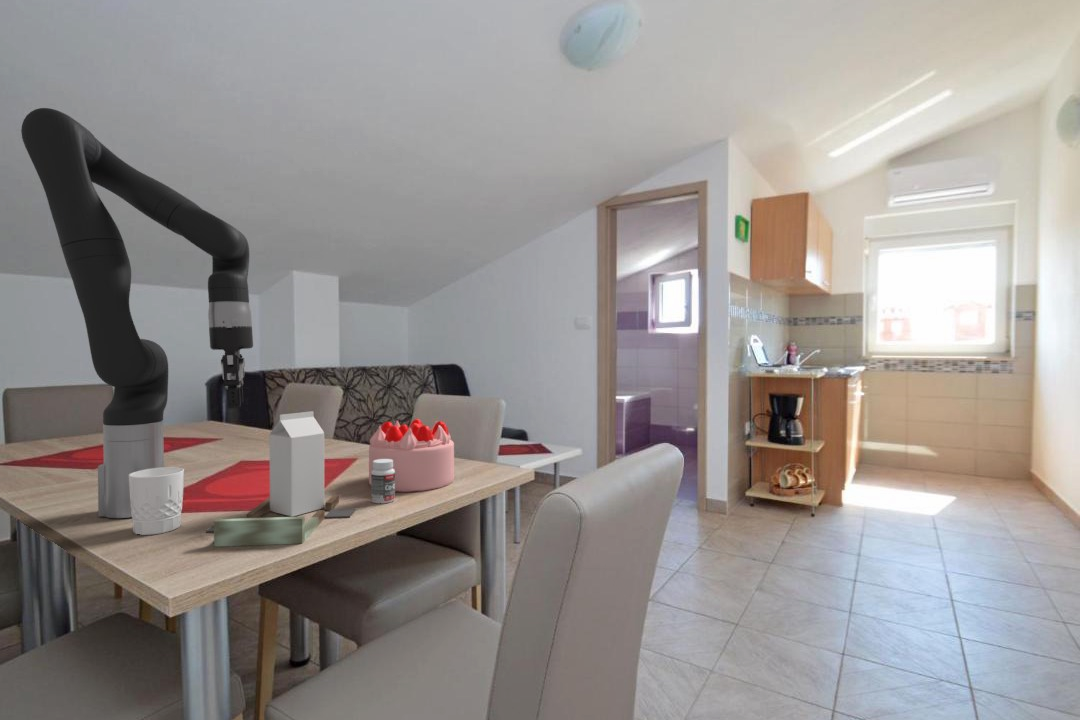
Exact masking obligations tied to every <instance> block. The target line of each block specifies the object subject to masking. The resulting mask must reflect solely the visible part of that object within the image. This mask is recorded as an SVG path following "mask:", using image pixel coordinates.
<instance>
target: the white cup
mask: <svg viewBox="0 0 1080 720" xmlns="http://www.w3.org/2000/svg"><path fill="white" fill-rule="evenodd" d="M184 478H185V469H184V468H182V467H177V466H165V467H162V468H152V469H145V470H140V471H136V472H133V473H130V474H129V490H130V505H131V515H132V517H131V519H132V533H134V534H135V535H137V534H140V535H139V536H151V535H153V536H154V535H158V534H165V533H168V532H171V531H174V530H176V529H178V528H180V526H181V524H182V511H183V500H184V499H183V498H184Z"/></svg>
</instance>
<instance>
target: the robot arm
mask: <svg viewBox="0 0 1080 720" xmlns="http://www.w3.org/2000/svg"><path fill="white" fill-rule="evenodd" d="M20 132H21V139H22V142H23V145H24V147H25V150H26V151H27V154H28V155H29V158H30V160H31V162H32V164H33V167H34V169H35V171H36V173H37V175H38V179H39V180H40V182H41V185H42V188H43V190H44V193H45V197H46V199H47V203H48V207H49V211H50V214H51V216H52V221H53V223H54V226H55V228H56V229H55V230H56V232H57V236H58V239H59V243H60V248H61V250H62V251H61V252H62V254H63V257H64V260H65V261H64V262H65V264H66V266H67V270H68V272H69V274H70V277H71V281H72V283H73V287H74V289H75V294H76V297H77V299H78V303H79V306H80V308H81V312H82V314H83V318H84V322H85V328H86V334H87V339H88V345H89V350H90V354H91V355H90V356H91V360H92V361H91V362H92V365H93V368H94V370H95V372H96V375H97V376H98V377H99V379H100V380H101V381H103V382H104V383H105V384H107V385H108V386H111V387H113V388H114V389H113V396H112V399H111V401H110V402H109V404H108V405H107V406H106V407H104V408H105V409H104V410H103V412H102V432H103V433H102V437H103V439H102V440H103V447H102V448H103V463H102V464H98V466H97V496H98V497H97V499H98V501H97V502H98V503H97V505H98V506H97V508H98V511H97V513H98V515H97V516H98V517H105V518H108V519H127V518H128V519H129V518H132V515H131V505H130V490H129V474H130V473H133V472H136V471H140V470H145V469H152V468H162V467H164V466H165V465H164V462H165V461H164V457H165V456H164V453H165V451H164V450H165V449H164V447H165V445H164V411H165V409H166V407H167V404H168V396H169V395H168V392H169V390H168V389H169V361H168V357H167V356H168V355H167V354H166V351H165V350H164V348H162V346H161V345H159V344H158V343H157V342H155V341H153V340H149V339H147V338H146V339H145V338H140V336H139V334H138V331H137V328H136V326H135V325H136V324H134V323H135V322H134V321H133V317H132V313H131V310H130V309H131V308H130V295H131V284H132V266H131V261H130V258H129V255H128V251H127V249H126V246H125V243H124V239H123V237H122V234H121V232H120V229H119V228H118V225H117V224H116V222H115V221H114V219H113V217H112V215H111V214H110V212H109V210H108V209H107V207H106V206H105V204H104V203H103V201H102V199H101V198H100V196H99V195H98V192H97V190H96V188H95V187H94V184H96V185H98V186H100V187H101V188H104V189H106V190H107V191H109V192H111V193H112V194H115V195H116V196H118V197H119V198H121V199H122V200H123V201H125V202H127V203H128V204H129V205H131V206H132V207H133V208H135V209H137V211H139V212H140V213H142V214H144V215H145V216H147V217H148V218H150V219H151V220H152V221H154V222H156V223H158V224H159V225H161V226H162V227H164V228H166V229H167V230H169V231H171V232H173V233H174V234H176V235H178V236H181V237H183V238H184V239H185V240H187V241H188V242H190V243H191V244H193V245H194V246H196V247H197V248H198V249H200V250H202V251H203V252H205V253H206V254H208V255H209V256H211V259H212V273H211V274H210V275H209V277H208V279H207V294H208V295H207V296H208V312H207V313H208V314H207V317H208V332H209V347H210V349H211V350H213V351H221V350H222V351H224V354H222V357H221V358H220V367H221V369H222V370H221V376H222V380H223V385H224V389H225V390H226V401H227V403H226V404H227V408H228V409H230V410H231V409H238V408H240V407H241V405H242V404H243V402H244V393H243V392H244V391H243V385H244V380H245V365H246V363H245V362H246V361H245V357H243V355H242V353H240V352H241V350H245V349H247V350H249V349H252V348H253V347H254V340H253V338H254V337H253V320H252V310H251V307H250V298H249V297H250V295H249V294H250V293H249V284H248V276H249V267H250V246H249V242H248V240H247V238H246V236H245V235H244V234H243V233H242V232H241V231H239V229H237V228H236V227H234V226H232V225H231V224H229V223H228V222H226V221H224V220H223V219H221V218H219V217H217V216H216V215H214V214H212V213H210V212H208V211H207V210H204V209H203V208H202V207H200V206H199V205H198V204H196V203H195V202H194V201H192V200H191V199H189V198H187V197H186V196H184V195H183V194H181V193H179V192H178V191H176V190H175V189H173V188H171V187H170V186H167V185H166V184H164V183H163V182H161V181H159V180H157V179H155V178H153V177H151V176H149V175H147V174H145V173H143V172H141V171H139V170H137V169H136V168H134V167H133V166H131V165H129V164H128V163H126V162H125V161H124V160H122V159H121V158H120V157H119V156H117V155H116V153H115V154H114V153H113V152H112V151H111V150H110V149H109V148H108V147H106V145H105V144H103V143H102V142H101V141H99V140H98V138H96V137H95V135H94V134H93V133H92V132H91V131H90V130H89V129H87V128H86V127H85V126H84V125H82V124H81V123H80V122H78V121H77V120H75V119H74V118H73V117H71V116H70V115H69V114H67V113H64V112H62V111H60V110H57V109H53V108H50V107H40V108H36V109H33V110H32V111H30V112H29V113H27V114H26V115H25V117H24V119H23V121H22V125H21V131H20Z"/></svg>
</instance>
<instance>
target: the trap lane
mask: <svg viewBox="0 0 1080 720" xmlns="http://www.w3.org/2000/svg"><path fill="white" fill-rule="evenodd" d="M339 498H340V495H338V494H336V495H331V497H330V498H328V500H327V501H325V502H324V509H325V510H322V509H319V510H316V512H314V514H312V516H310V518H309V519H308V520H307V521H305V518H306V517H305V516H293V517H291V516H278V517H277V516H276V517H275V516H274V517H273V516H272V517H262V516H263V515H265V514H266V513H267V512H268V511H270V496H269V497H268V498H266V499H265V500H264V501H262V502H261V503H260V504H259V505H257V506H255V507H254V508H253V509H251V510H250V511H248V512H247V513H246V514H245V517H244V518H243V517H242V518H240V517H239V518H219V519H218V518H217V519H216V520H215V521H213V526H214V532H213V540H214V543H213V546H214V547H236V546H237V547H238V546H242V545H243V546H264V545H265V546H266V545H269V546H270V545H291V544H292V545H293V544H303V543H304V542H305V541H306V540H307V539H308V538H309V537H310V535H312V533H313V532H314V531H315V529H317V528H318V527H319V525H320V524H321V523H322V522H323V521H324V520H325V519H326V518H325V516H326V514H325V513H326V512H325V511H328V512H329V511H330V510H331V509H335V508H336V506H337V505H338V504H339V501H340V499H339Z"/></svg>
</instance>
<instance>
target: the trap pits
mask: <svg viewBox="0 0 1080 720" xmlns="http://www.w3.org/2000/svg"><path fill="white" fill-rule="evenodd" d="M355 511H356V507H353V508H352V507H350V508H348V507H347V508H333V509H331V510H330V511H328V512H327V514H325V519H345V518H346V519H347V518H351V517H350V516H353V514H354V513H355ZM205 533H211V534H212V533H213V534H214V525H213V526H211V527H209V528H208V529H207V530H205Z"/></svg>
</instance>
